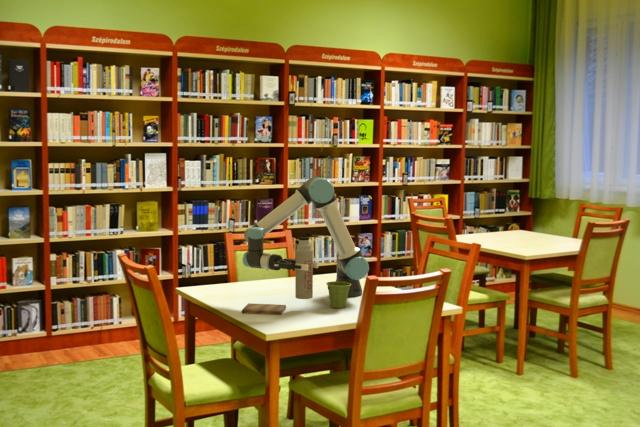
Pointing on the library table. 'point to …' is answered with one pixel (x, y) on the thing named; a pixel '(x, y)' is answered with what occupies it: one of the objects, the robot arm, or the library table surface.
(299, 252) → the thermos bottle
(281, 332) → the library table surface
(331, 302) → the plant pot
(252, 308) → the walnut board
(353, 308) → the library table surface
